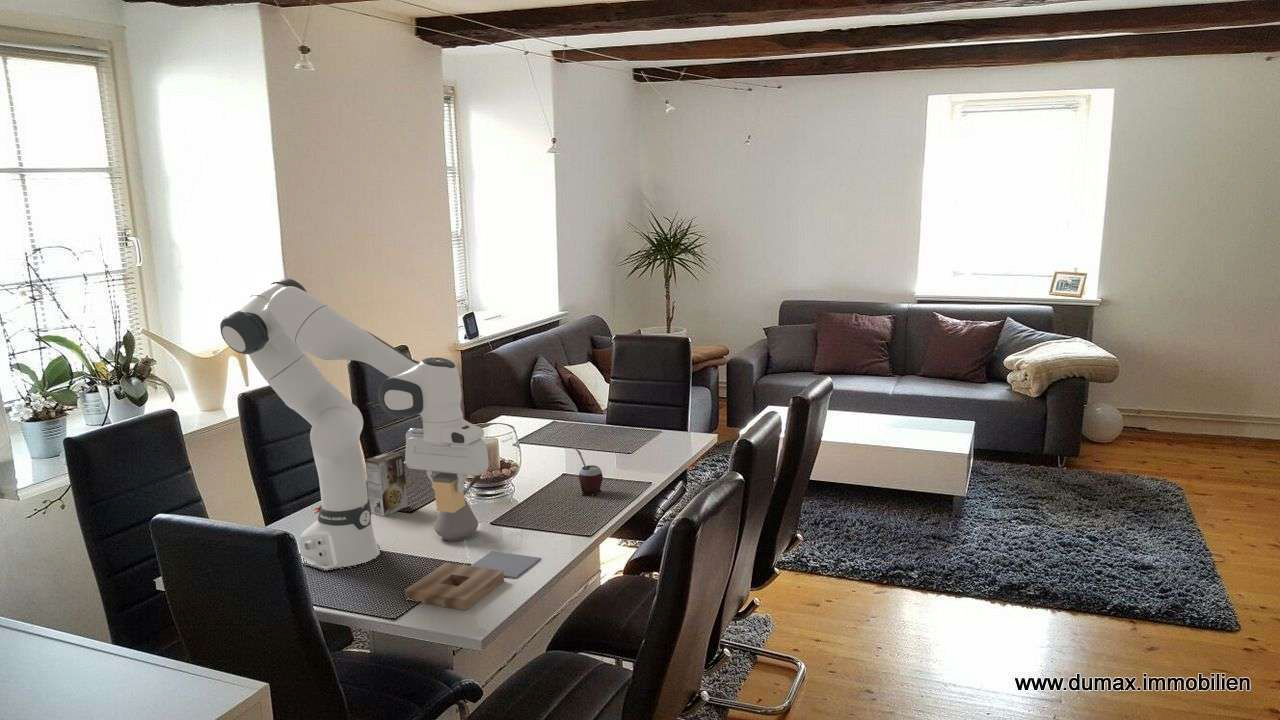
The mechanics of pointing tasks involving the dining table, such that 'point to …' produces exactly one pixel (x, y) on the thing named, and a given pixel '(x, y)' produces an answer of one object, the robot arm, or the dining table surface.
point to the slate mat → (507, 563)
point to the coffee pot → (457, 520)
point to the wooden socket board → (443, 593)
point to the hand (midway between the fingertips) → (448, 490)
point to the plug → (447, 492)
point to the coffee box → (386, 483)
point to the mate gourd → (589, 477)
